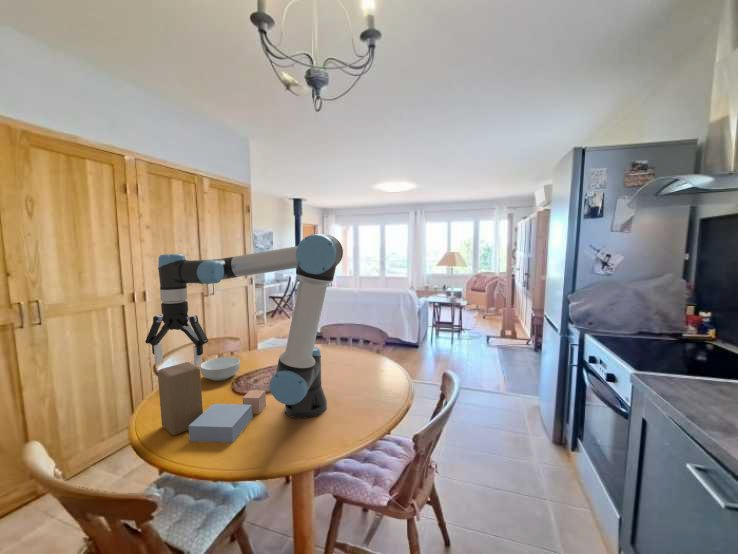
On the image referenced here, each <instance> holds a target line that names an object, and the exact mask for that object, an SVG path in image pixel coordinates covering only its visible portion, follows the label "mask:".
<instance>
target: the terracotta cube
mask: <svg viewBox="0 0 738 554" xmlns="http://www.w3.org/2000/svg"><path fill="white" fill-rule="evenodd" d="M266 399H267V396H266V390H257V389H256V390H255V389H254V390H253V389H250V390H249V391H247V392H246V393H245V395H244V396H243V397H242V404H245V405H252V415H260V414H261V413H262V411H263V410H264V409H265V408H266V406H267V400H266Z"/></svg>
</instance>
